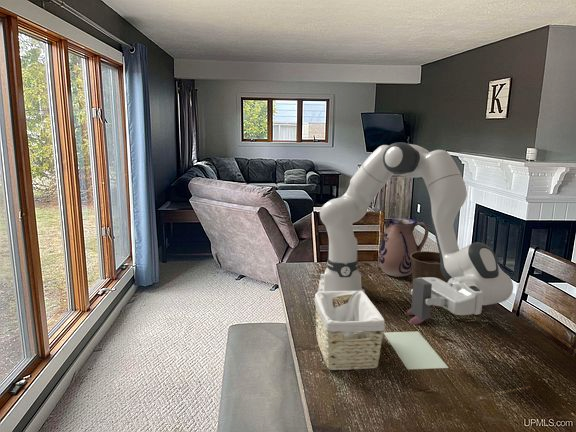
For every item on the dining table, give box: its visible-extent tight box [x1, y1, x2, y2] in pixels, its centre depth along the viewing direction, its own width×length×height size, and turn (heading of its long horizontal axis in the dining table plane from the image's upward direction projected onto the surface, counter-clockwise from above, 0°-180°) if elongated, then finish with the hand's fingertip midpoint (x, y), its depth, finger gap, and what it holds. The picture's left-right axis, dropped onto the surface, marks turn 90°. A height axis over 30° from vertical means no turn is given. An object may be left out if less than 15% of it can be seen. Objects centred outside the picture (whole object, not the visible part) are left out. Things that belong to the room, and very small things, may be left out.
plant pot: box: [410, 250, 448, 283], centre depth 170 cm, size 16×16×16 cm
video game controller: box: [406, 307, 426, 326], centre depth 149 cm, size 10×5×7 cm, turn 170°
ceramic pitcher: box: [377, 217, 429, 278], centre depth 196 cm, size 18×21×25 cm
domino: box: [410, 278, 432, 320], centre depth 121 cm, size 5×3×10 cm, turn 17°
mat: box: [383, 331, 449, 370], centre depth 129 cm, size 22×12×1 cm, turn 5°
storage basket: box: [314, 290, 386, 371], centre depth 127 cm, size 24×16×15 cm
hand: (418, 297), depth 120 cm, fingers closed on domino, 5 cm apart
